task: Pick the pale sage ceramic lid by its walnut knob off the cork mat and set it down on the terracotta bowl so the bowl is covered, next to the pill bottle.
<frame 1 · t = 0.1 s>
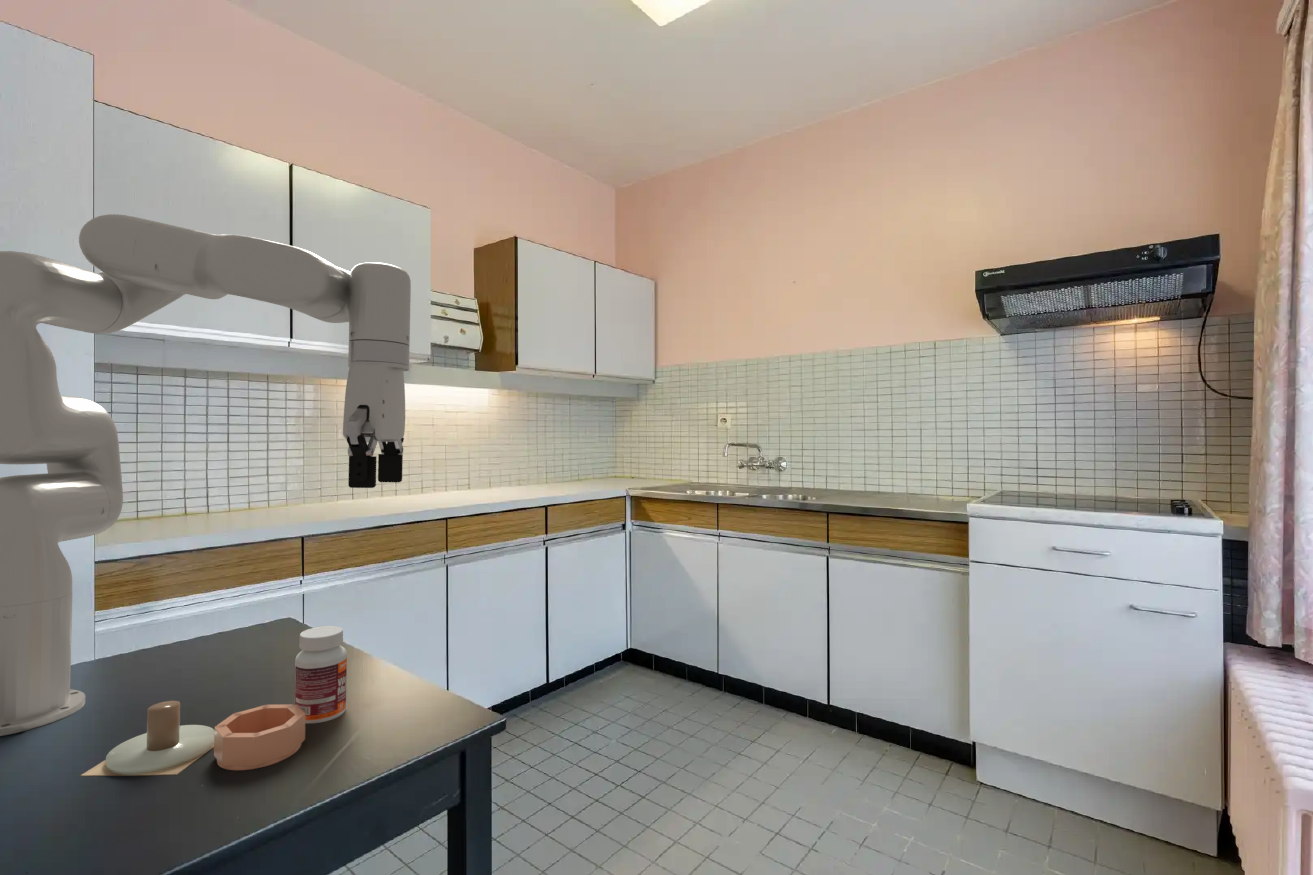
hand: (376, 484, 83), 31 cm above the table, fingers open, 9 cm apart
bowl: (260, 753, 73), on the table
lid: (163, 751, 72), resting on mat
pill bottle: (320, 717, 83), on the table
mat: (162, 754, 72), on the table
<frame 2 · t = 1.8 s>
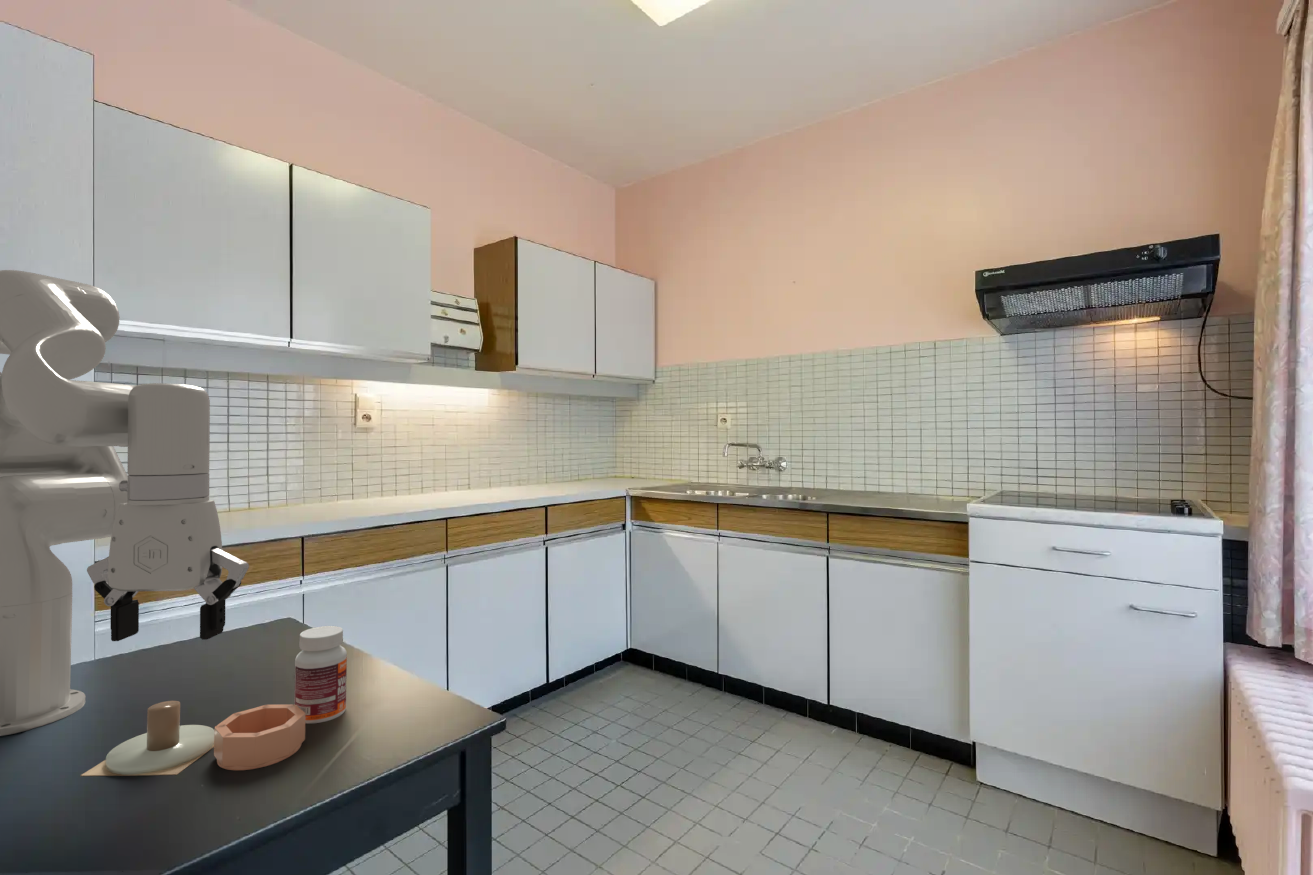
hand: (168, 636, 72), 14 cm above the table, fingers open, 9 cm apart
nothing on the table moved.
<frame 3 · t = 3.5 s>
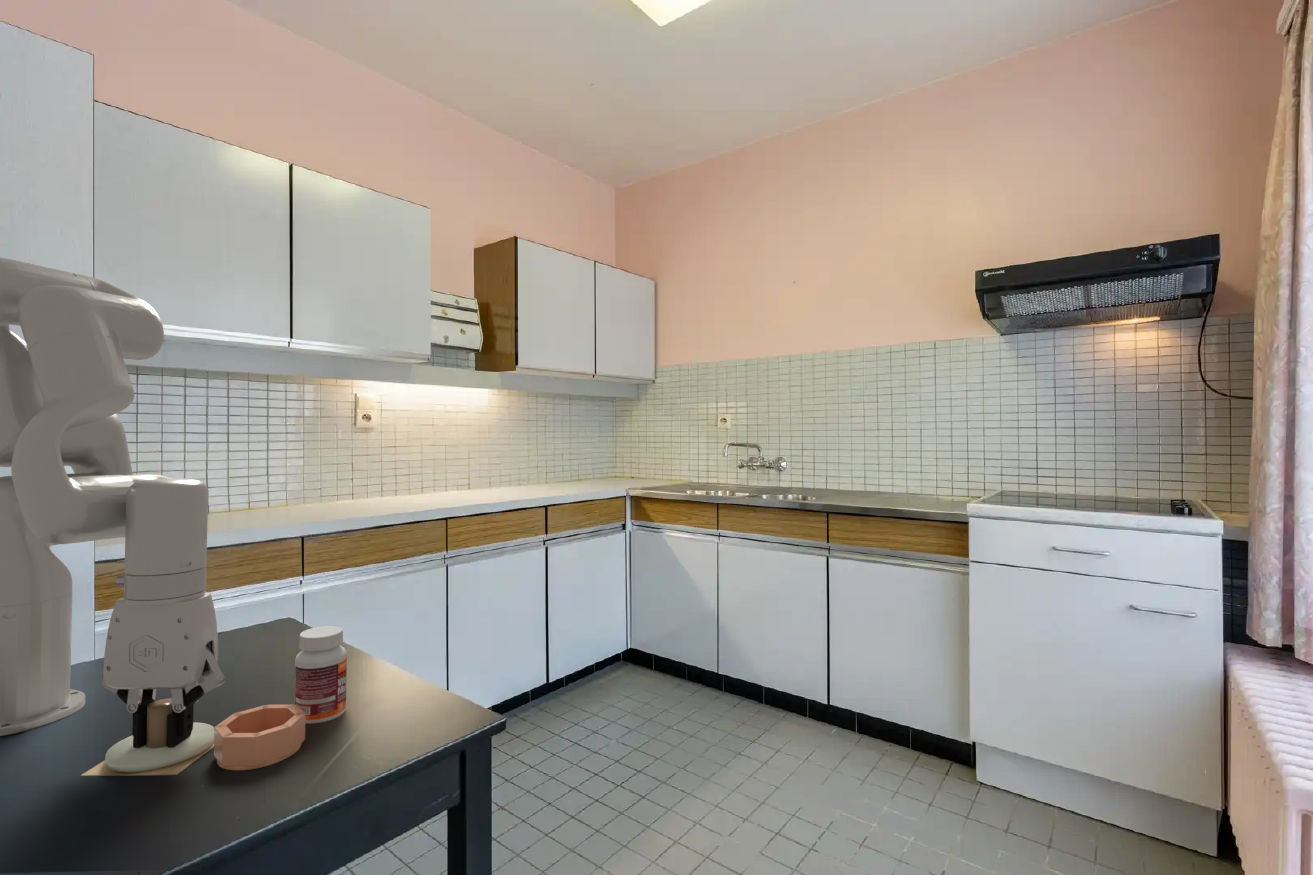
hand: (162, 740, 72), 2 cm above the table, fingers closed on lid, 3 cm apart
lid: (162, 748, 72), point 1 cm above the table, touching gripper
everything else where it was.
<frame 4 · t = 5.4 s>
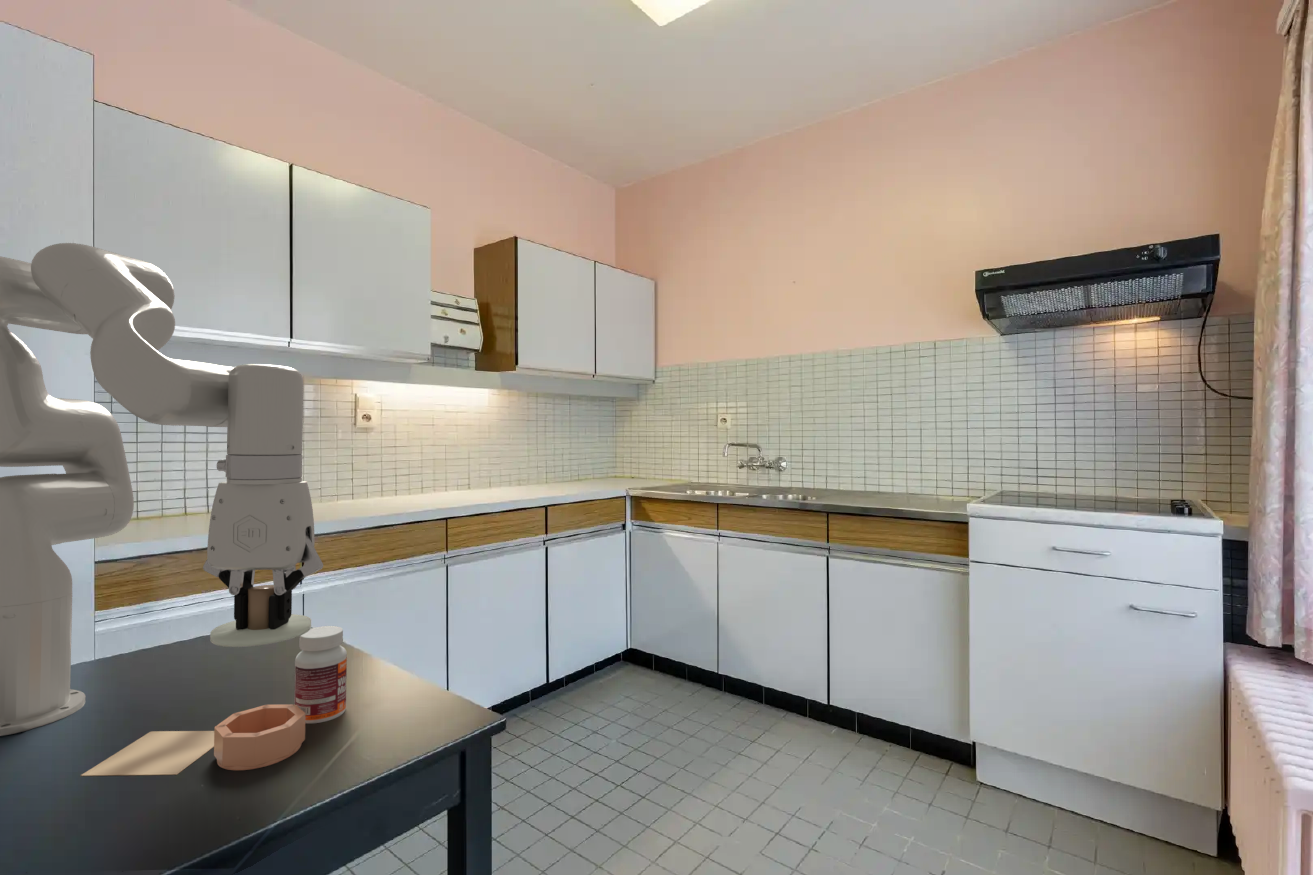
hand: (262, 624, 73), 15 cm above the table, fingers closed on lid, 3 cm apart
lid: (262, 632, 73), point 14 cm above the table, touching gripper
everything else where it was.
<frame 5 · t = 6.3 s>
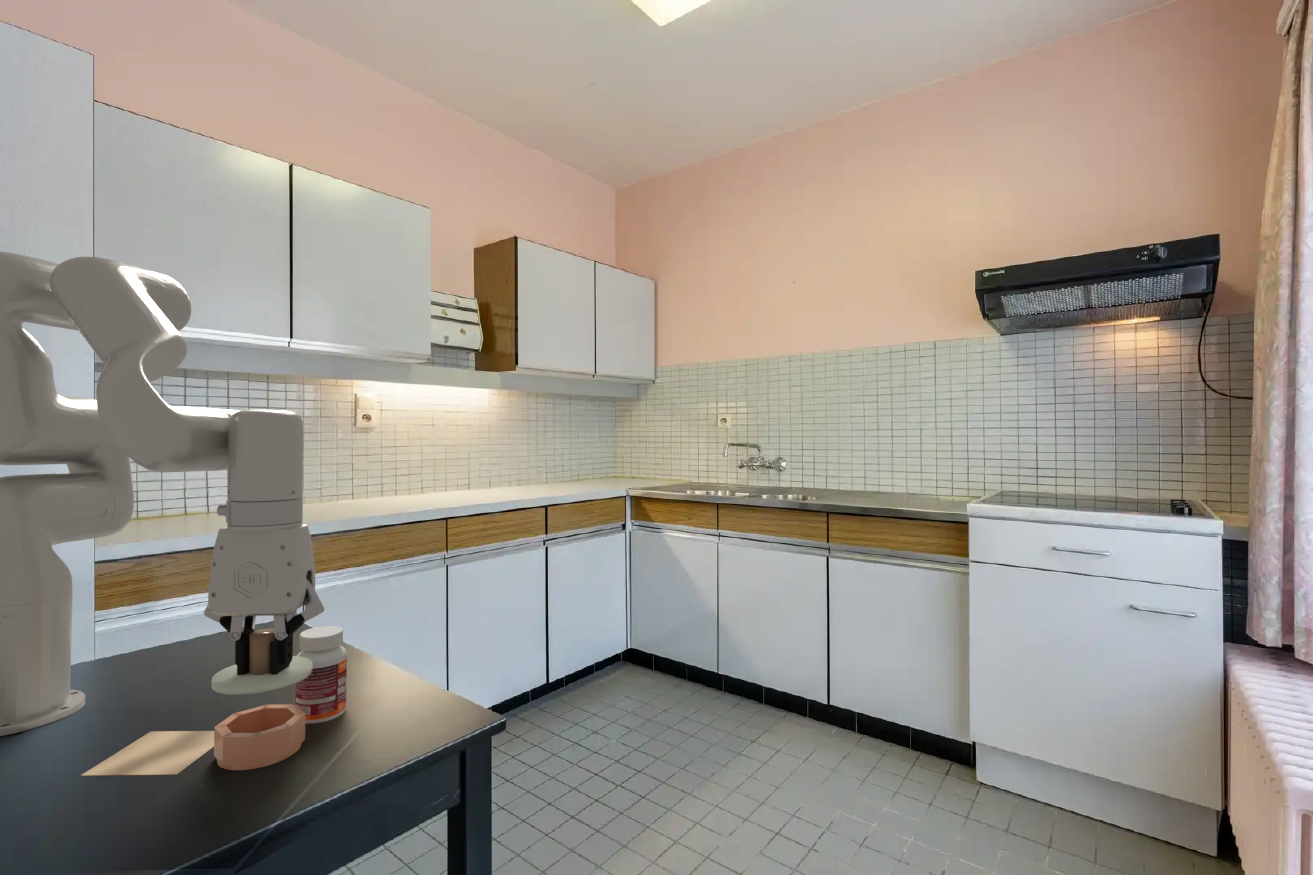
hand: (264, 669, 73), 10 cm above the table, fingers closed on lid, 3 cm apart
lid: (263, 677, 72), point 9 cm above the table, touching gripper
everything else where it was.
when the fingers open (6 cm above the table, at t = 7.1 s): lid drops 2 cm, resting on bowl.
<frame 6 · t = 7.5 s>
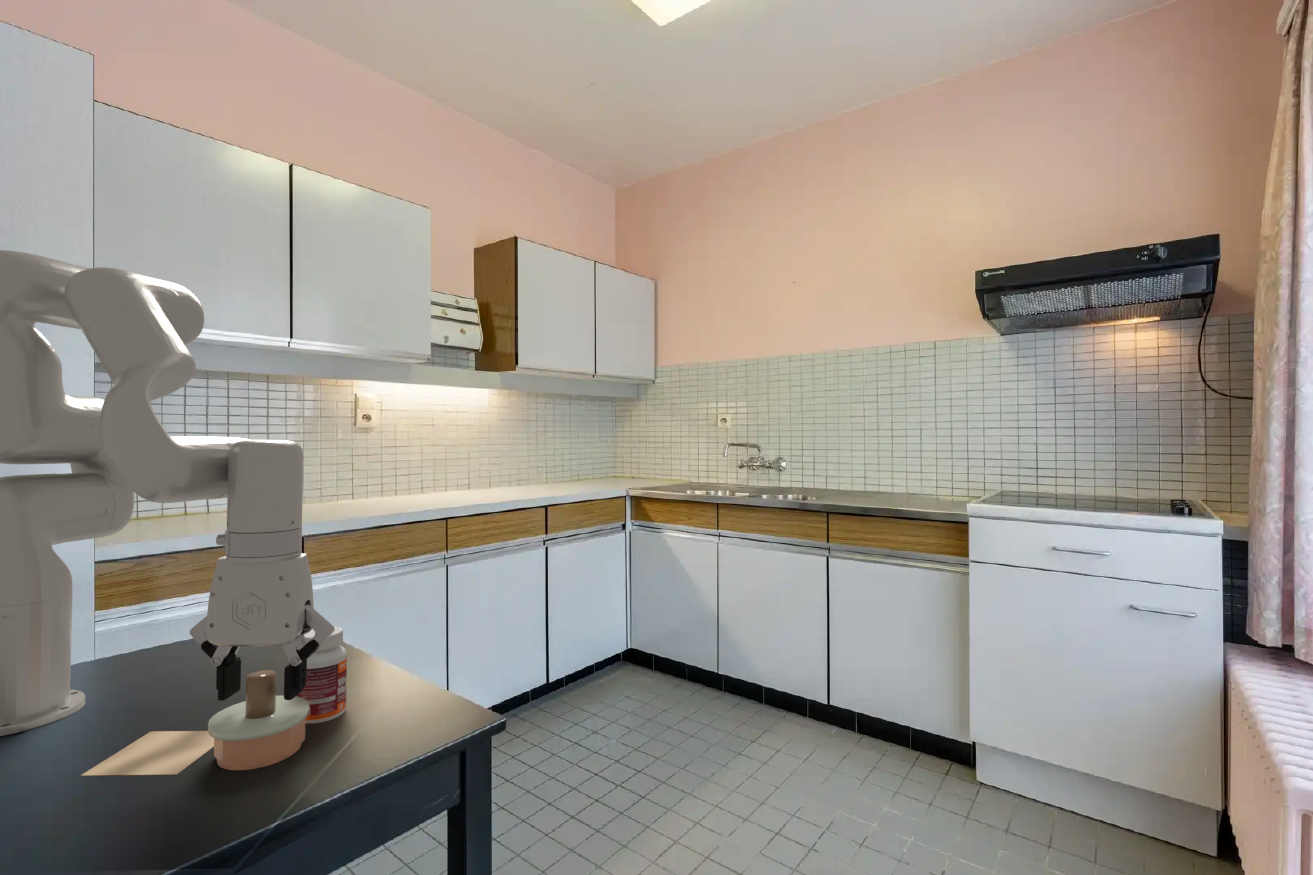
hand: (261, 694, 73), 7 cm above the table, fingers open, 6 cm apart
lid: (260, 719, 73), point 4 cm above the table, touching bowl
everything else where it was.
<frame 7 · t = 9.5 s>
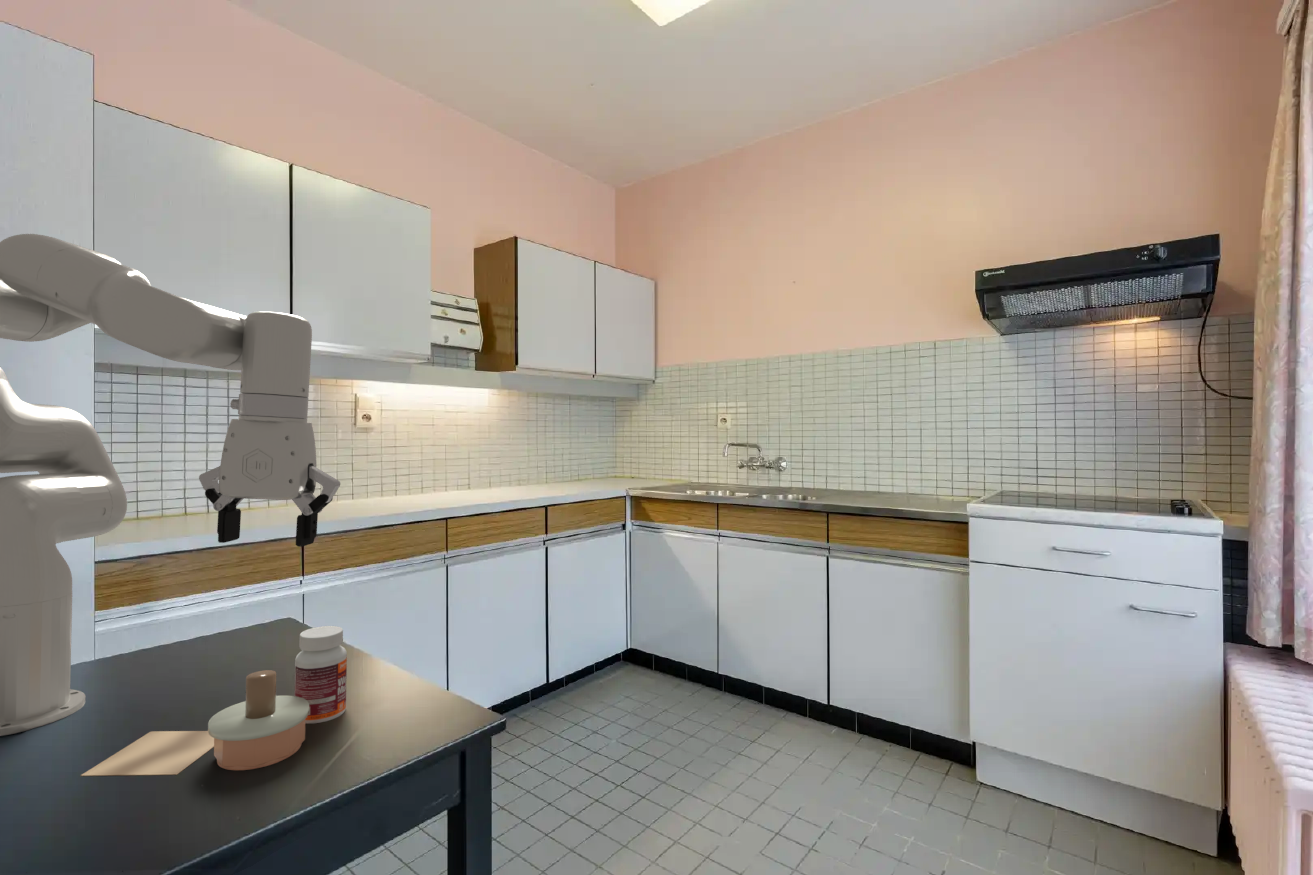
hand: (266, 542, 79), 24 cm above the table, fingers open, 9 cm apart
nothing on the table moved.
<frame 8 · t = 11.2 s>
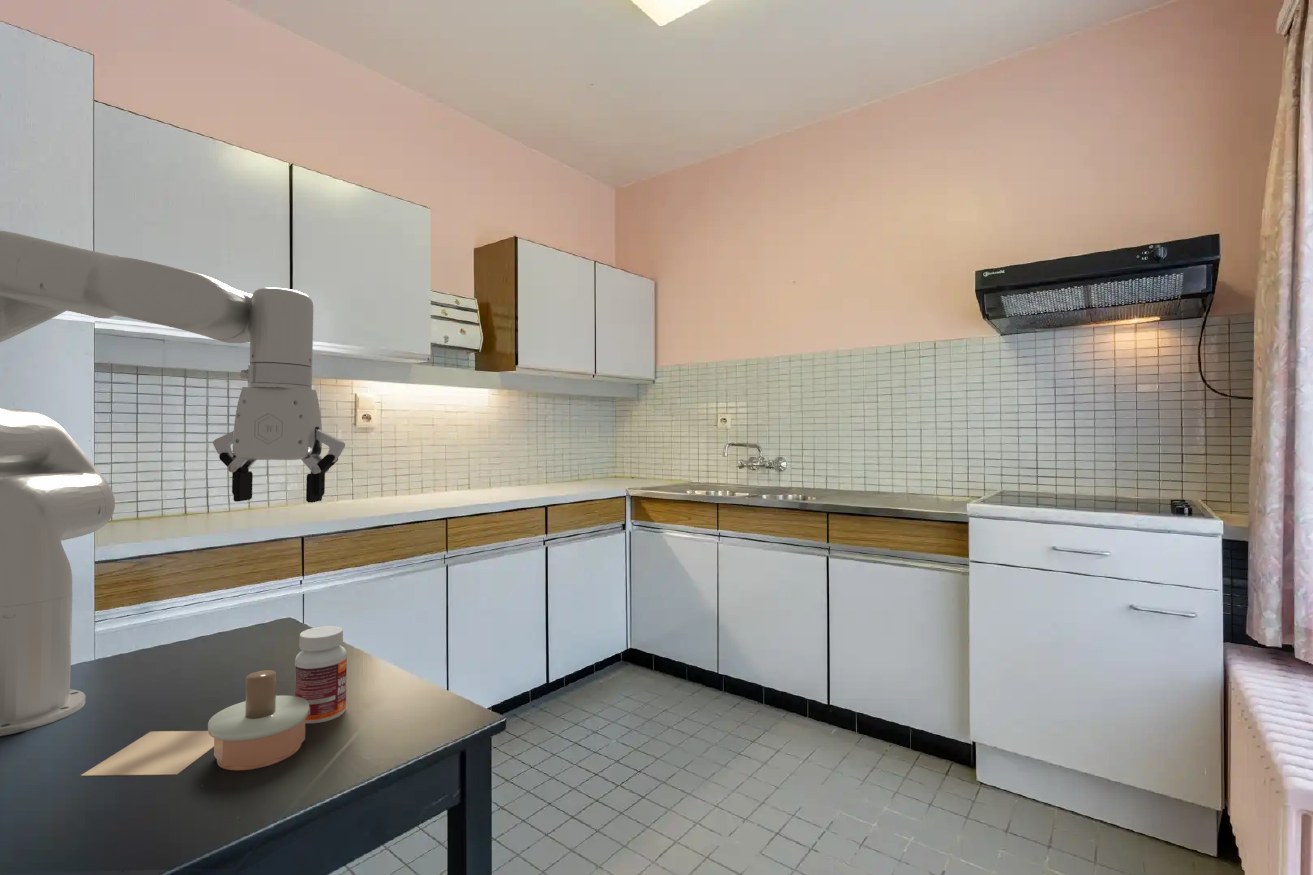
hand: (278, 501, 86), 28 cm above the table, fingers open, 9 cm apart
nothing on the table moved.
at the end: lid 0.1 cm off-centre on the bowl, point 4.0 cm above the bowl's base; lid tilted 0°; the gripper is holding nothing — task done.
